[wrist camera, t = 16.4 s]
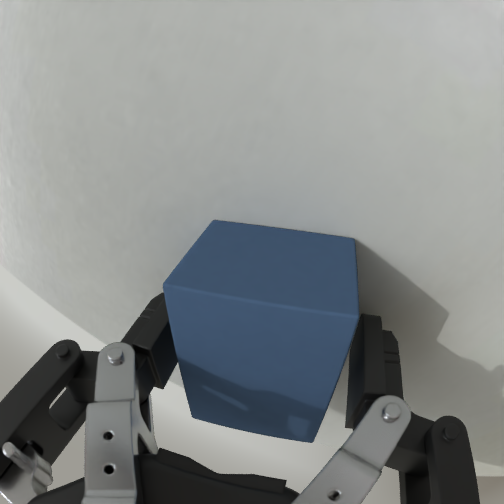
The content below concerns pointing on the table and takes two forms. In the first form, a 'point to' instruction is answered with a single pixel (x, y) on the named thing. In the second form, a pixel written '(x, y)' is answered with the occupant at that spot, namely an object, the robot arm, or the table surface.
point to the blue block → (263, 325)
